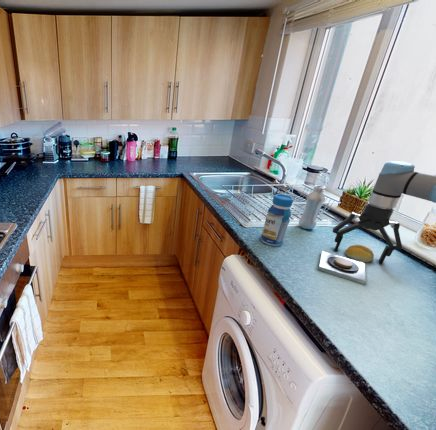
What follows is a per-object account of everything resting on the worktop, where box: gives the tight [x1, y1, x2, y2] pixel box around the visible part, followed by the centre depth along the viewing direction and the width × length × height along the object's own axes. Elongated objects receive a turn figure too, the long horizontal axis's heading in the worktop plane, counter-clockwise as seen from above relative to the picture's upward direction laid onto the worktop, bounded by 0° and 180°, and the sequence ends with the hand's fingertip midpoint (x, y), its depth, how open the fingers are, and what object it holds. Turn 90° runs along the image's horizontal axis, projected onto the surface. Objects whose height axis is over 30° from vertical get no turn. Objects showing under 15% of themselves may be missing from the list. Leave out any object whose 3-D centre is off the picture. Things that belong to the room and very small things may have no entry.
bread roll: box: [344, 244, 375, 263], centre depth 109 cm, size 8×9×4 cm
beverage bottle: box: [260, 193, 294, 247], centre depth 115 cm, size 8×8×20 cm
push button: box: [317, 250, 367, 285], centre depth 102 cm, size 13×13×3 cm
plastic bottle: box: [298, 184, 326, 230], centre depth 127 cm, size 6×7×20 cm
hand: (357, 255), depth 110 cm, fingers open, 13 cm apart
